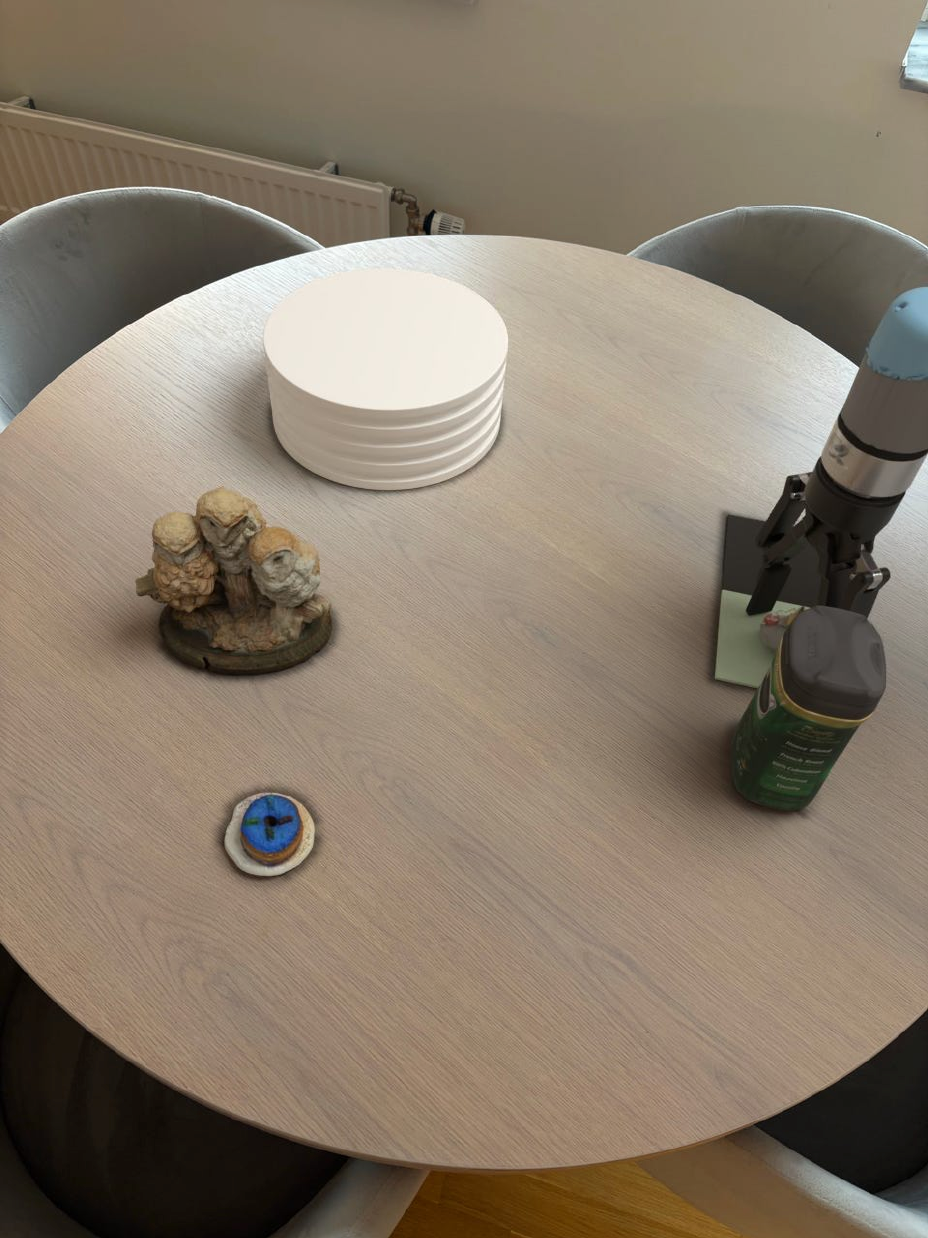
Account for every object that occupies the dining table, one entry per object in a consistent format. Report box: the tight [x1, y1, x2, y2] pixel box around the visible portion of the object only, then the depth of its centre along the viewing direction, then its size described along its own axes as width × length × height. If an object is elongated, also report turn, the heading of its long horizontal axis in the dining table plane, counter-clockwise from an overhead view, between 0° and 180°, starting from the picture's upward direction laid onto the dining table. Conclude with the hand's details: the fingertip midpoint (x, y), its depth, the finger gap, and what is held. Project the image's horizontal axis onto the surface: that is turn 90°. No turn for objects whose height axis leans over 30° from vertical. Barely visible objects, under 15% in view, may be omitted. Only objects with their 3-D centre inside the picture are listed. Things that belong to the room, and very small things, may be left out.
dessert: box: [223, 792, 316, 877], centre depth 80 cm, size 8×7×6 cm
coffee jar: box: [730, 606, 887, 812], centre depth 81 cm, size 10×8×19 cm
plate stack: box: [262, 267, 509, 491], centre depth 113 cm, size 28×28×12 cm
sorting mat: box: [714, 513, 834, 689], centre depth 101 cm, size 24×12×1 cm, turn 167°
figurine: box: [760, 606, 805, 653], centre depth 95 cm, size 5×4×6 cm
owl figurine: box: [134, 486, 333, 675], centre depth 88 cm, size 18×12×17 cm, turn 94°
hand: (777, 640), depth 97 cm, fingers open, 8 cm apart
